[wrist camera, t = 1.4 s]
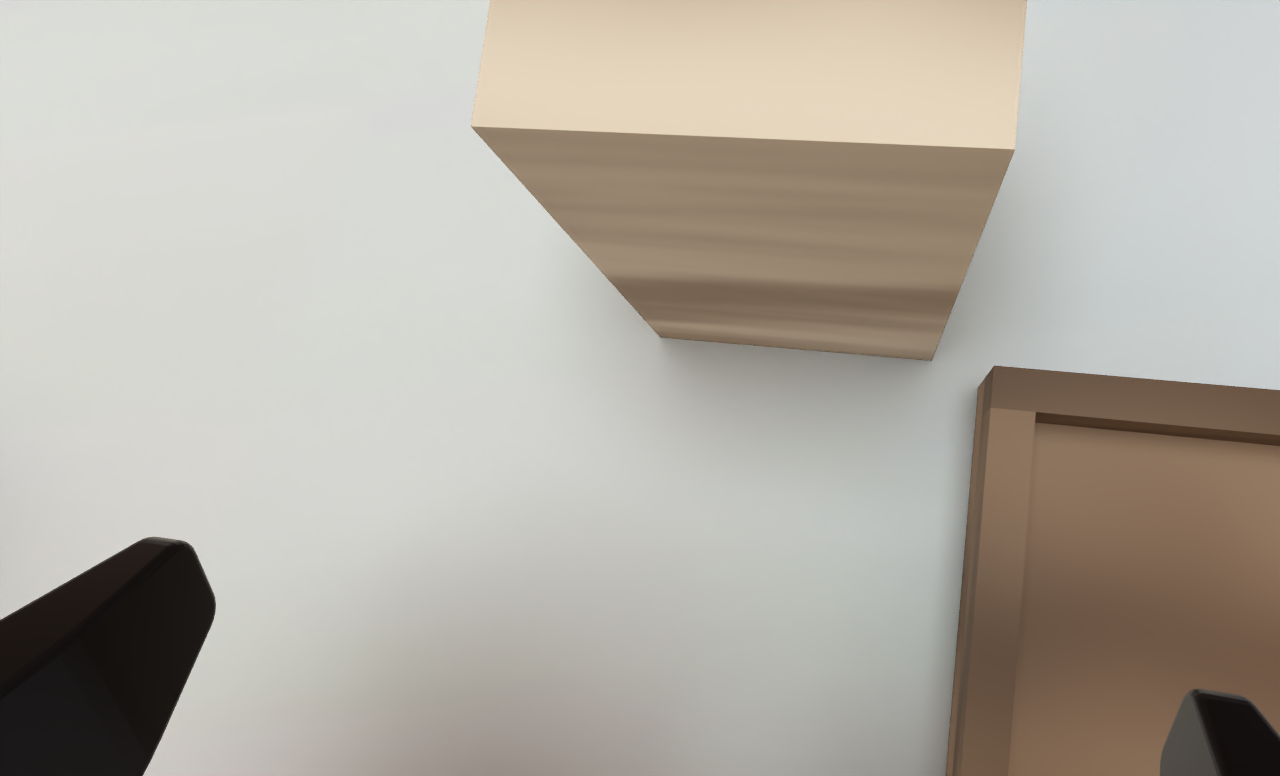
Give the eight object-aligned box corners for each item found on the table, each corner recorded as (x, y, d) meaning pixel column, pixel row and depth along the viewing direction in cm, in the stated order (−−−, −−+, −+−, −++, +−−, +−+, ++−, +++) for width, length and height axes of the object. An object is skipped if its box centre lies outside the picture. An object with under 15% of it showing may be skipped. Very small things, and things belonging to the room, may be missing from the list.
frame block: (936, 361, 22) (1025, 149, 11) (660, 337, 24) (470, 126, 12) (956, 140, 23) (1059, -287, 11) (686, 128, 24) (531, -263, 13)
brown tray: (1581, 1064, 18) (1699, 1147, 16) (932, 932, 20) (942, 985, 18) (1585, 442, 20) (1692, 426, 17) (978, 387, 22) (993, 365, 19)
